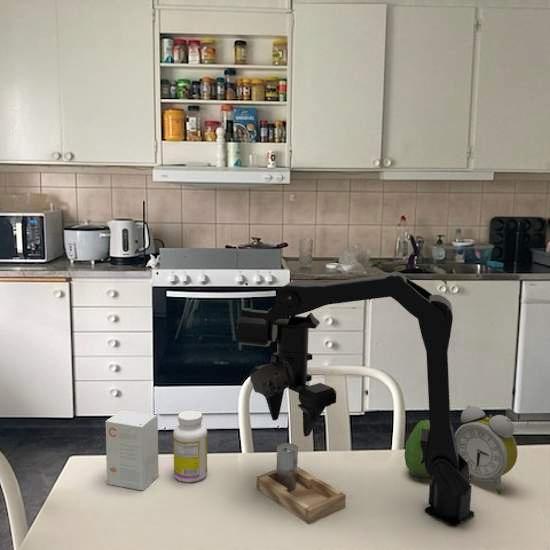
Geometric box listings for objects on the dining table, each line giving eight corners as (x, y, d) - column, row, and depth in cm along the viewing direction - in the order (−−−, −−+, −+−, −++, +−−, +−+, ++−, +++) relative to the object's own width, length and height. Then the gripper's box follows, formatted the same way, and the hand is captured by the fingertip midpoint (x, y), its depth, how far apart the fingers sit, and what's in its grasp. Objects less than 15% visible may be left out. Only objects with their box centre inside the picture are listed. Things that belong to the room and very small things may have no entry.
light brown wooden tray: (345, 507, 111) (345, 494, 111) (308, 523, 105) (309, 510, 105) (291, 474, 123) (292, 463, 122) (256, 488, 117) (256, 476, 116)
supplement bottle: (191, 464, 126) (191, 405, 124) (214, 474, 122) (214, 414, 120) (166, 476, 121) (166, 415, 119) (189, 487, 117) (189, 424, 115)
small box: (159, 476, 121) (158, 414, 119) (143, 491, 115) (142, 426, 113) (123, 469, 123) (122, 408, 121) (105, 484, 117) (104, 420, 115)
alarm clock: (448, 475, 124) (454, 405, 122) (466, 465, 129) (472, 398, 126) (502, 498, 115) (509, 424, 113) (519, 487, 120) (526, 415, 117)
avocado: (446, 485, 120) (451, 428, 118) (406, 484, 120) (410, 427, 118) (436, 466, 128) (440, 412, 126) (399, 465, 128) (402, 411, 126)
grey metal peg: (300, 487, 117) (302, 448, 115) (284, 494, 114) (286, 454, 113) (287, 479, 120) (288, 441, 118) (271, 485, 117) (272, 446, 116)
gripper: (228, 344, 115) (227, 421, 117) (292, 369, 101) (290, 457, 103) (273, 335, 122) (272, 409, 124) (340, 358, 108) (336, 440, 110)
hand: (290, 427), depth 115 cm, fingers open, 9 cm apart
